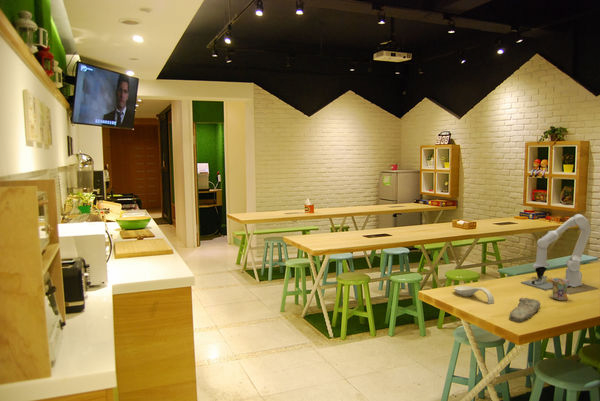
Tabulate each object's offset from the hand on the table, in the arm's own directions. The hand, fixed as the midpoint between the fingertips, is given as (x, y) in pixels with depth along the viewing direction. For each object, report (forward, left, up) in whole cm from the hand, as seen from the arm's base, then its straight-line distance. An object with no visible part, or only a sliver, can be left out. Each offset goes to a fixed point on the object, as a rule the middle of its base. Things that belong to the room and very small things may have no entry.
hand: (539, 278), depth 288 cm
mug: (+23, +25, -2) cm, 34 cm away
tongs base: (+8, +4, -1) cm, 8 cm away
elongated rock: (+60, +31, -2) cm, 68 cm away
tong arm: (+7, +5, -1) cm, 9 cm away
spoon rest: (+65, +2, -2) cm, 65 cm away
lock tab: (+6, 0, -1) cm, 6 cm away
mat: (+8, +6, -2) cm, 10 cm away
